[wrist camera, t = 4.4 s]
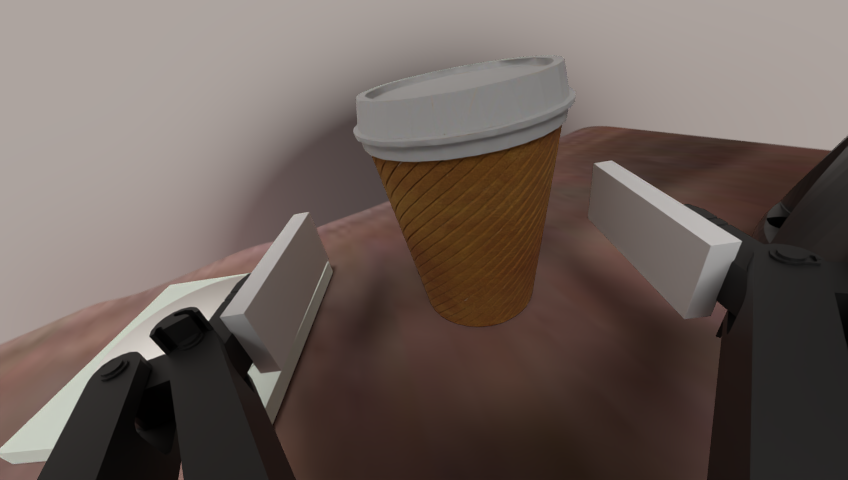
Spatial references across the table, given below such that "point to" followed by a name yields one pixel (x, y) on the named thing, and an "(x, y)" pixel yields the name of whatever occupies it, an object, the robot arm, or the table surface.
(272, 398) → the coaster board
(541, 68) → the disposable coffee cup
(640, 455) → the table surface
